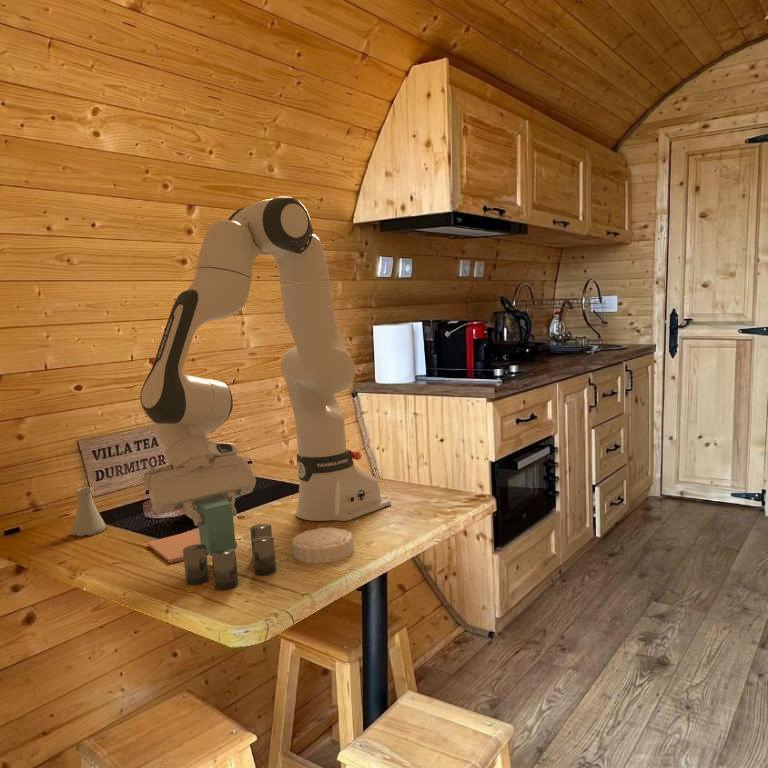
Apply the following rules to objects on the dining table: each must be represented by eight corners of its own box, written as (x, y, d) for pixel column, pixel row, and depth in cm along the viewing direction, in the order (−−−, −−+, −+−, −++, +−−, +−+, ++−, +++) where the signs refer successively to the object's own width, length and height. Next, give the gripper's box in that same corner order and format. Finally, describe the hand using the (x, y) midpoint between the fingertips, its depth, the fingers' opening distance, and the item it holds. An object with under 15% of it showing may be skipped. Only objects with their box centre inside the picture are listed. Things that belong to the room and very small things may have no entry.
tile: (211, 529, 155) (210, 526, 155) (237, 545, 144) (236, 541, 144) (147, 545, 147) (147, 542, 147) (169, 563, 136) (169, 559, 136)
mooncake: (280, 555, 137) (278, 538, 137) (327, 538, 146) (325, 521, 145) (319, 569, 129) (318, 550, 128) (366, 550, 137) (365, 532, 137)
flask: (94, 537, 155) (88, 493, 154) (65, 537, 156) (59, 493, 155) (112, 526, 162) (108, 484, 161) (84, 526, 164) (79, 485, 162)
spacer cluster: (267, 551, 139) (265, 522, 138) (297, 568, 129) (294, 537, 129) (179, 577, 129) (175, 545, 128) (203, 597, 119) (200, 563, 118)
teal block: (225, 542, 137) (221, 497, 136) (236, 548, 133) (231, 502, 132) (201, 549, 134) (196, 503, 133) (211, 555, 130) (206, 509, 129)
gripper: (141, 462, 131) (164, 524, 125) (243, 442, 143) (269, 498, 136) (137, 481, 136) (159, 542, 129) (236, 460, 147) (261, 515, 140)
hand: (216, 519), depth 133 cm, fingers closed on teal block, 5 cm apart
